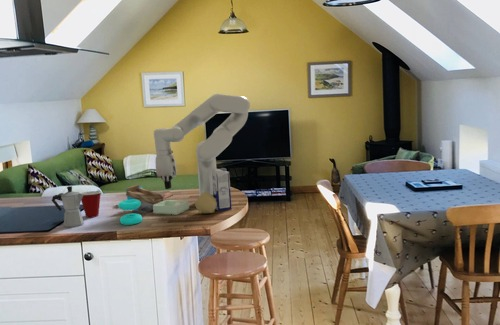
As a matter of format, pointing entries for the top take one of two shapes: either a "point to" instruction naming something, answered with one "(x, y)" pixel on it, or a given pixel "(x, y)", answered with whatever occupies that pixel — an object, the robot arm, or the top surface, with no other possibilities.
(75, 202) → the coffee maker
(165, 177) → the robot arm
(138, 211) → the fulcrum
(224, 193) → the milk carton
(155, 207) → the tray
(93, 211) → the plastic cup
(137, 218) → the donuts
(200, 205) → the yellow rounded lump
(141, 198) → the chute
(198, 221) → the top surface
